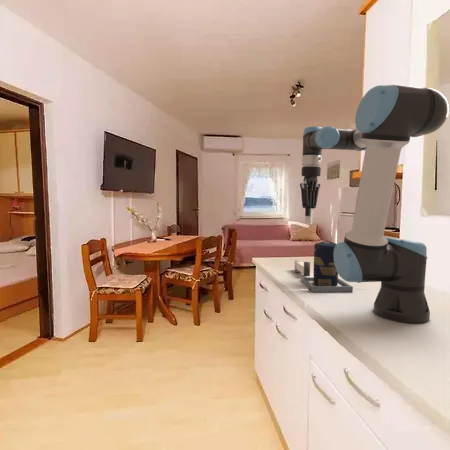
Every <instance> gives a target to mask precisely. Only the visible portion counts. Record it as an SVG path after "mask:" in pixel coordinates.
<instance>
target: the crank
mask: <svg viewBox="0 0 450 450" xmlns="http://www.w3.org/2000/svg"><path fill="white" fill-rule="evenodd" d="M293 270H294V271H295V272H301V273H300V274H302V275H303V277H310V276H311V262H310V261H303V260H298V259H296V260H295V259H294V269H293Z"/></svg>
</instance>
